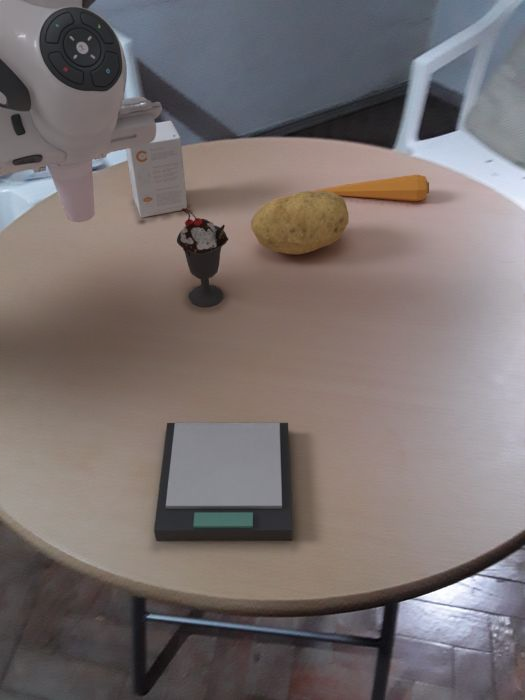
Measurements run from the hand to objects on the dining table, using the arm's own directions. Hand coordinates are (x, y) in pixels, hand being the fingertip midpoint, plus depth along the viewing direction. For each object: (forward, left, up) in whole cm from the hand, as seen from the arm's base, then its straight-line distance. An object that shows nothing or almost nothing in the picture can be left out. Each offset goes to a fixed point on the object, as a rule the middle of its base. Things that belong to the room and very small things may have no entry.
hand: (68, 159), depth 86 cm
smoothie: (0, -1, -8) cm, 8 cm away
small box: (+7, +21, -20) cm, 30 cm away
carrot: (+43, +24, -20) cm, 53 cm away
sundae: (+16, -3, -20) cm, 26 cm away
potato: (+30, +9, -20) cm, 38 cm away
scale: (+20, -35, -20) cm, 45 cm away
